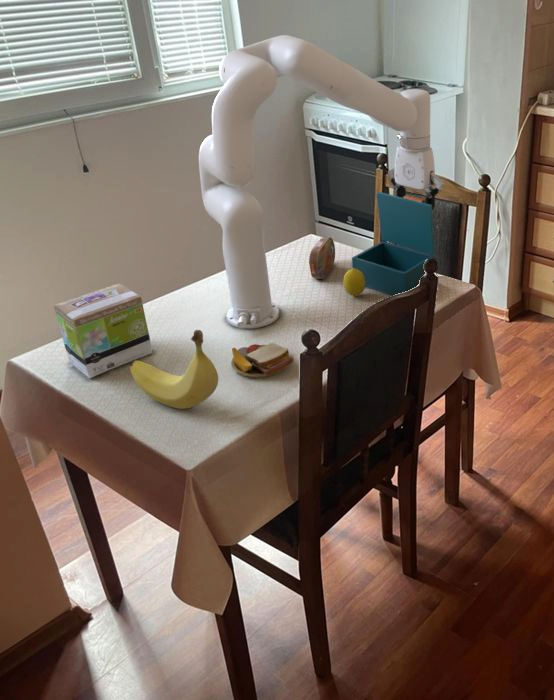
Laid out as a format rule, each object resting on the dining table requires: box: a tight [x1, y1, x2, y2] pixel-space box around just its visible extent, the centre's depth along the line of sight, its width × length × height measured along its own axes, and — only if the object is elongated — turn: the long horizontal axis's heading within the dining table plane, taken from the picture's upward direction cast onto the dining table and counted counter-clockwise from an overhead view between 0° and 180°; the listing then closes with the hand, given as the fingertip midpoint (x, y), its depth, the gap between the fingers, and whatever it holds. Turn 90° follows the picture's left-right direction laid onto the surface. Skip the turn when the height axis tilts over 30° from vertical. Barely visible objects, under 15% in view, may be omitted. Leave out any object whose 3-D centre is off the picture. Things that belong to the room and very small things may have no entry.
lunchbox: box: [351, 240, 435, 296], centre depth 191 cm, size 13×17×7 cm
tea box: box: [53, 282, 153, 379], centre depth 157 cm, size 15×10×15 cm, turn 137°
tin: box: [308, 237, 336, 280], centre depth 196 cm, size 15×3×8 cm, turn 168°
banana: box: [129, 329, 219, 409], centre depth 141 cm, size 23×6×20 cm, turn 62°
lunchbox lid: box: [376, 191, 436, 256], centre depth 190 cm, size 14×17×6 cm
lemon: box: [342, 268, 366, 298], centre depth 183 cm, size 6×6×8 cm
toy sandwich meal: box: [230, 342, 294, 379], centre depth 157 cm, size 12×14×5 cm
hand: (415, 207), depth 190 cm, fingers open, 8 cm apart
